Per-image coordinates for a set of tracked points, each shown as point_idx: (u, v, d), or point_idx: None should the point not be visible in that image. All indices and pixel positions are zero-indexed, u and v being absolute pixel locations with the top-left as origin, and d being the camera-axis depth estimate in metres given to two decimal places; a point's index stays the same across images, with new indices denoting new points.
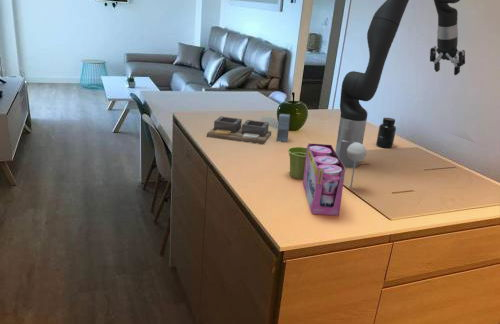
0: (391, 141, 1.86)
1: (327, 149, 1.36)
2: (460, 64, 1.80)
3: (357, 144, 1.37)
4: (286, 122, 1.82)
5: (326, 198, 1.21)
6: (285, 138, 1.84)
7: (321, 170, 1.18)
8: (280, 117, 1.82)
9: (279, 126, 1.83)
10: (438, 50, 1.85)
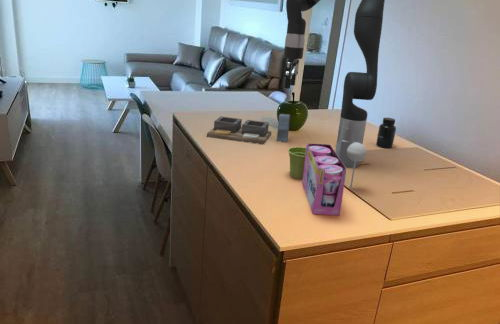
0: (391, 141, 1.86)
1: (326, 149, 1.36)
2: (297, 72, 1.85)
3: (357, 144, 1.37)
4: (286, 122, 1.82)
5: (327, 198, 1.21)
6: (285, 138, 1.84)
7: (322, 170, 1.18)
8: (280, 117, 1.82)
9: (279, 126, 1.83)
10: (293, 63, 1.75)
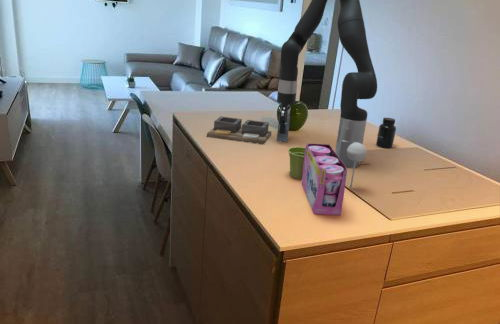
0: (391, 141, 1.86)
1: (326, 149, 1.36)
2: None
3: (357, 144, 1.37)
4: (286, 122, 1.82)
5: (328, 198, 1.21)
6: (285, 138, 1.84)
7: (323, 170, 1.18)
8: None
9: (279, 126, 1.83)
10: (287, 108, 1.79)
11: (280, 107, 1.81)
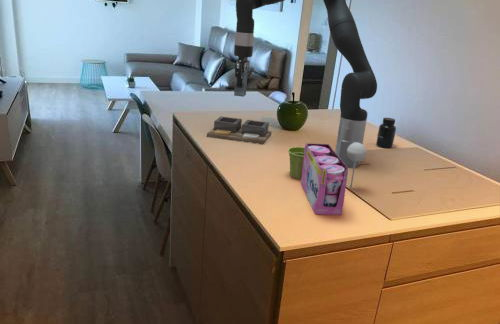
0: (391, 141, 1.86)
1: (325, 149, 1.36)
2: None
3: (357, 144, 1.37)
4: (243, 76, 1.82)
5: (329, 198, 1.21)
6: (242, 92, 1.84)
7: (325, 170, 1.18)
8: None
9: (236, 80, 1.83)
10: (243, 61, 1.79)
11: None
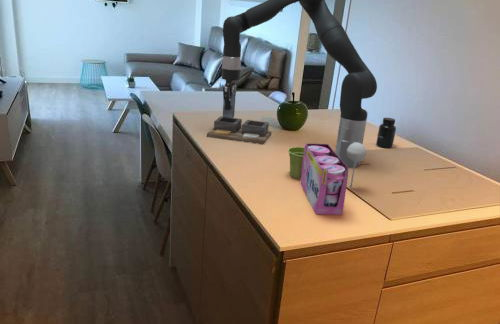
0: (391, 141, 1.86)
1: (325, 149, 1.37)
2: None
3: (357, 144, 1.37)
4: (231, 98, 1.85)
5: (330, 198, 1.21)
6: (230, 114, 1.87)
7: (325, 170, 1.18)
8: None
9: (224, 102, 1.86)
10: (230, 84, 1.82)
11: None
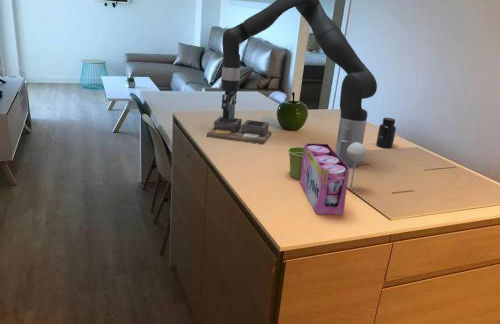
0: (391, 141, 1.86)
1: (325, 148, 1.37)
2: (235, 101, 1.94)
3: (357, 144, 1.37)
4: (230, 111, 1.87)
5: (331, 198, 1.21)
6: None
7: (326, 170, 1.18)
8: None
9: None
10: (230, 95, 1.83)
11: (224, 94, 1.86)
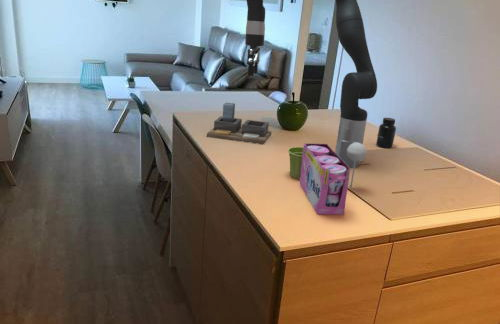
0: (391, 141, 1.86)
1: (324, 148, 1.37)
2: (259, 60, 1.87)
3: (357, 144, 1.37)
4: (230, 111, 1.87)
5: (331, 198, 1.21)
6: None
7: (327, 170, 1.18)
8: (224, 106, 1.87)
9: (224, 115, 1.88)
10: (255, 50, 1.76)
11: None
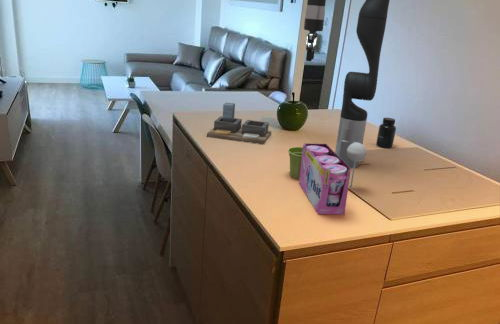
0: (391, 141, 1.86)
1: (324, 148, 1.37)
2: (315, 45, 1.85)
3: (357, 144, 1.37)
4: (230, 111, 1.87)
5: (332, 198, 1.21)
6: None
7: (328, 170, 1.18)
8: (224, 106, 1.87)
9: (224, 115, 1.88)
10: None
11: (307, 35, 1.77)
